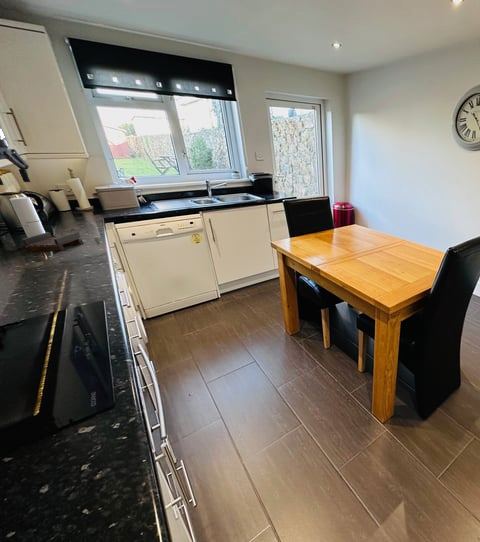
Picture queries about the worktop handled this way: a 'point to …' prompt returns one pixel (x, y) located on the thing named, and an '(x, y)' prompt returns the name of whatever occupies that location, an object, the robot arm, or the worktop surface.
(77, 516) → the worktop surface
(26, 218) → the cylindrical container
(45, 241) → the rack
